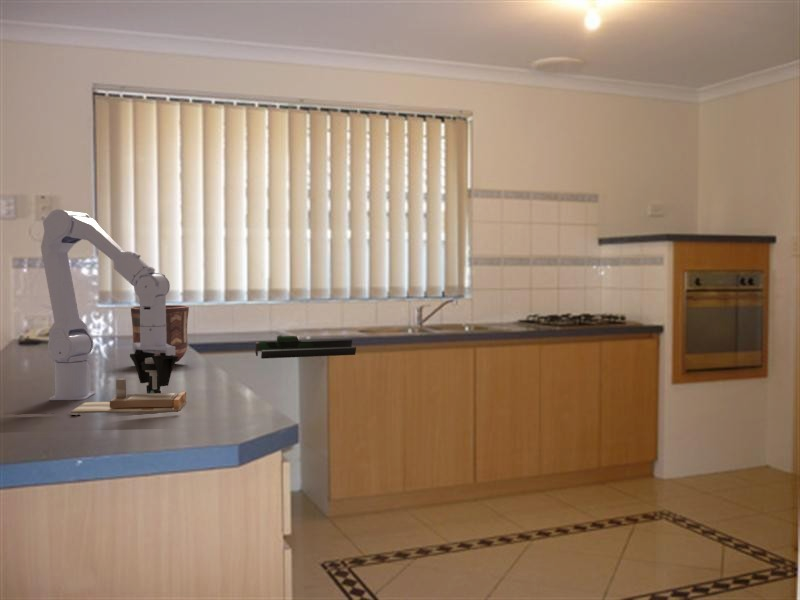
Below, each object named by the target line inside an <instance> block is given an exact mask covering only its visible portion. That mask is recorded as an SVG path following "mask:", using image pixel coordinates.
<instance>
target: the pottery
mask: <svg viewBox="0 0 800 600" xmlns="http://www.w3.org/2000/svg"><path fill="white" fill-rule="evenodd" d="M189 312H190V307H189V306H188V305H179V304H178V305H177V304H176V305H174V304H173V305H172V304H166V344H168V345H170V346H175V355H177V356H178V359H177V361H176V362H175V363H177V362H179V361H181V359H182V358H183V357H184V356H185V354H186V352H187V349H188V320H189V319H188V317H189ZM130 315H131V324H132V343H140V305H136V306H132V307H130ZM153 351H155V350H153ZM135 352H136V351H133V354H134V353H135ZM157 355H160V354H156V353H155V355H154V356H157Z"/></svg>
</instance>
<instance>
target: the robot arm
mask: <svg viewBox="0 0 800 600" xmlns="http://www.w3.org/2000/svg"><path fill="white" fill-rule="evenodd" d="M42 224H43V230H44V232H43V236H42V241H41V244H40V245H41V246H40V250H41V255H42V256H41V257H42V262H43V267H44V273H45V277H46V283H47V288H48V293H49V300H50V304H51V310H52V316H53V321H54V322H53V323H52V325H51V327H50V328H49V329H48V343H47V351H48V354H49V355H50V356H51V358H52V359H53V363H54V392H55V393H54V395H53V396H51V397H50V398H49V399H48V400H49V401H79V400H80V401H81V400H83V401H84V400H87V399H88V398H90V397H92V396H93V395H94V394H96V391H92V379H91V378H92V377H91V370H92V369H91V367H90V366H91V365H90V364H89V363H88V359H89V355H90V353H91V352H92V351H93V349H94V339H93V338H92V335H91V334H90V332H89V331H88V327H87V324H86V323H85V322H84V321H83V320H82V319H81V318H80V315H79V310H78V304H77V299H76V294H75V293H76V292H75V288H74V282H73V277H72V276H73V275H72V273H71V271H72V270H71V266H70V261H69V255H68V253H69V252H70V250H71V249H72V248H74V246H75V245H76V244H77V243H79V242H80V241H82V240H84V241H87V242H89V243H90V244H91V245H93V246H94V247H96V249H98V250H99V251H100V252H101V253H103V254H104V255H105V256H106V257H108V258H109V259H110V260H112V261H113V268H114V271H116V272H117V273H118V274H119V275H121V277H123V278H124V279H125V280H126V281H127V282H128V283H129V284H131V286H133V288H134V292H135V295H136V296H137V298H138V299H139V302H138V303H139V306H140V343H133V342H132V352H133V353H130V354H129V359H131V361H132V362H133V364H134V366H135V369H136V372H137V376H138V379H139V383H140V384H146V383H147V384H148V381H149V372H145V370H142V365H141V363H142V362H144V361H145V358H152V359H153V361H154V363H155V366H156V371H157V379H158V385H159V386H160V388H161V387H166V386H167V387H168V386H169V384H170V379H171V375H172V372H173V368H174V366H175V364H176V363H177V362H176V361H177V359H178V356H177V355H175V346H170V345H168V344H166V305H167V304H166V303H167V302H166V300H167V299H166V296H167V295H168V293H169V292H170V286H171V285H170V284H171V283H170V281H169V279H168V278H167V277H166V275H165V274H164V273H160V272H155V271H156V269H155V267H153V266H149V265H148V264H147V262H145V261H144V260H142V258H141V257H142V256H141V254H140V253H139V252H134V251H132V250H124V249H123V248H122V247H121V246H120V245H119V244H118V243H117V242H116V241H115V240H114V239H113V238H112V237H111V236H110V235H109V234H108V233H107V232H106V231H105V230H104V229H103V228H102V227H101V226H100V225H99V224H98V223H97V220H95V219H93V217H92V218H91V217H90V215H89V214H87V213H85V212H84V211H71V210H63V209H59V208H58V209H54V210H53V211H51V212H50V213H49V214H48V215H46V217H45V219H44V220H43V221H42ZM153 350H155V351H153ZM134 351H136V352H135V353H134ZM155 353H156V354H160V355H157V356H154V355H155Z"/></svg>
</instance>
